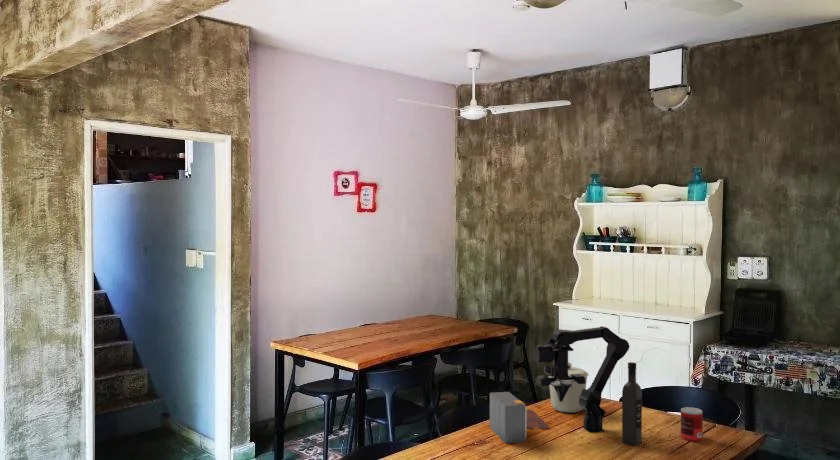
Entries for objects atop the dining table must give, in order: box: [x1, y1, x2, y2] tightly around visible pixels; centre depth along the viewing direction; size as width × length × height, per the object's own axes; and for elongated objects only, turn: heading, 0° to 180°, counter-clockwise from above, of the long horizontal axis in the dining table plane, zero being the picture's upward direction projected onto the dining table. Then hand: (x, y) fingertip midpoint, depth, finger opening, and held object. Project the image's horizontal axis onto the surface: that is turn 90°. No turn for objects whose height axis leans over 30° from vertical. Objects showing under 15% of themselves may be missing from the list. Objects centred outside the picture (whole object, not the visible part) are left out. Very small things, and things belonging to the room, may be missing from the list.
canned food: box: [680, 406, 704, 443], centre depth 239 cm, size 8×8×11 cm
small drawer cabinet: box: [489, 391, 526, 444], centre depth 243 cm, size 9×19×14 cm, turn 11°
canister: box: [548, 361, 589, 414], centre depth 277 cm, size 18×18×21 cm
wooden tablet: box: [526, 409, 550, 430], centre depth 263 cm, size 27×10×2 cm, turn 3°
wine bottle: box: [621, 361, 643, 447], centre depth 234 cm, size 6×6×30 cm
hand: (560, 401), depth 247 cm, fingers closed
